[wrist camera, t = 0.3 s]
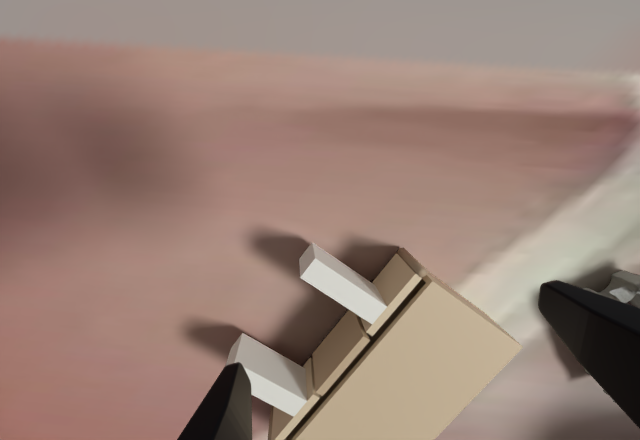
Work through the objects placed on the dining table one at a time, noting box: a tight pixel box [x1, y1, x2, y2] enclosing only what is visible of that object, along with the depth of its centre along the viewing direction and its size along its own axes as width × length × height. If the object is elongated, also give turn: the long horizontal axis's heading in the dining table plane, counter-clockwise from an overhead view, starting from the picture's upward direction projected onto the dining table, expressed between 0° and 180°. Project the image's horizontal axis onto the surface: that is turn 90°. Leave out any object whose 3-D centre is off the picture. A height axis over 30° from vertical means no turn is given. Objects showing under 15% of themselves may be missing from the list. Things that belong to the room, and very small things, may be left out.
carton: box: [284, 271, 523, 440], centre depth 24 cm, size 17×10×4 cm, turn 143°
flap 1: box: [226, 333, 320, 440], centre depth 23 cm, size 6×7×4 cm
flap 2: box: [299, 242, 427, 336], centre depth 21 cm, size 6×7×4 cm
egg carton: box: [583, 271, 640, 402], centre depth 25 cm, size 11×8×4 cm
